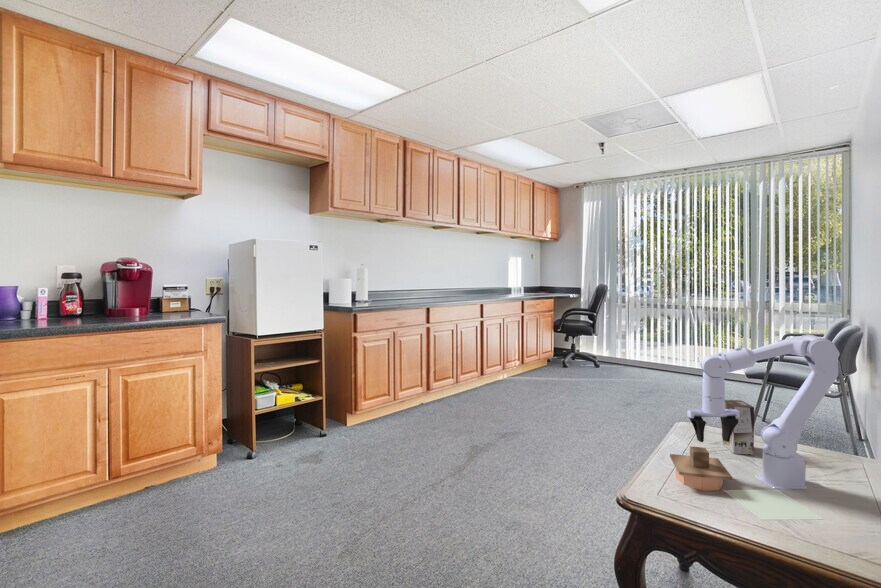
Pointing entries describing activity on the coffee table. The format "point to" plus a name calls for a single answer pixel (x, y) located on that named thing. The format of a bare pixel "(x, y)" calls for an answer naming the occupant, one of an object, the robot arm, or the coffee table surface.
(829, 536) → the coffee table surface
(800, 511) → the mat
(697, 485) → the bowl
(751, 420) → the coffee box
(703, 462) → the lid
